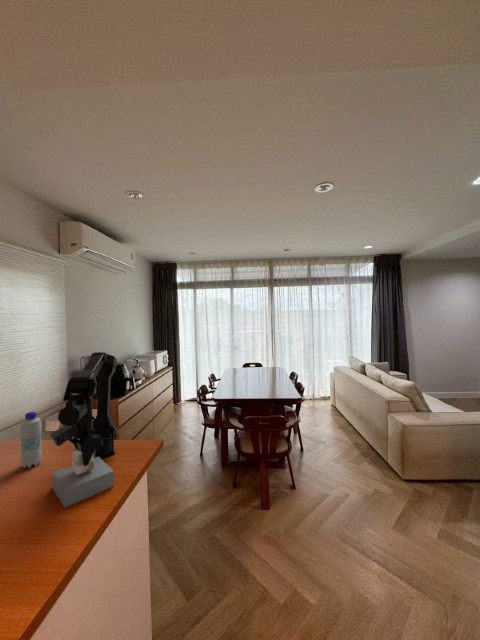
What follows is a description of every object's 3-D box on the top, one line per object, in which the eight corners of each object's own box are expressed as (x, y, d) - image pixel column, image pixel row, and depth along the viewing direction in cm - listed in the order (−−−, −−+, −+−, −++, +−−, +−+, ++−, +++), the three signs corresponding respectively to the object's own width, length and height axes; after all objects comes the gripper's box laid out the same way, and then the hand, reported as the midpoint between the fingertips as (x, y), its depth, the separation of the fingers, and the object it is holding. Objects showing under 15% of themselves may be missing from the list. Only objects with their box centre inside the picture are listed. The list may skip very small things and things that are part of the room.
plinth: (98, 470, 99) (98, 456, 99) (114, 486, 89) (113, 470, 89) (52, 487, 89) (52, 472, 89) (64, 507, 79) (64, 490, 79)
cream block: (88, 463, 93) (88, 445, 93) (94, 468, 89) (93, 450, 89) (72, 469, 89) (71, 450, 89) (76, 475, 85) (76, 455, 85)
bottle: (46, 462, 105) (46, 410, 105) (28, 471, 99) (27, 415, 99) (34, 459, 108) (33, 408, 108) (15, 468, 101) (15, 414, 101)
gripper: (46, 414, 90) (46, 461, 90) (61, 429, 77) (62, 484, 77) (83, 406, 98) (84, 449, 98) (103, 418, 85) (103, 469, 85)
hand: (83, 462), depth 89 cm, fingers open, 5 cm apart
